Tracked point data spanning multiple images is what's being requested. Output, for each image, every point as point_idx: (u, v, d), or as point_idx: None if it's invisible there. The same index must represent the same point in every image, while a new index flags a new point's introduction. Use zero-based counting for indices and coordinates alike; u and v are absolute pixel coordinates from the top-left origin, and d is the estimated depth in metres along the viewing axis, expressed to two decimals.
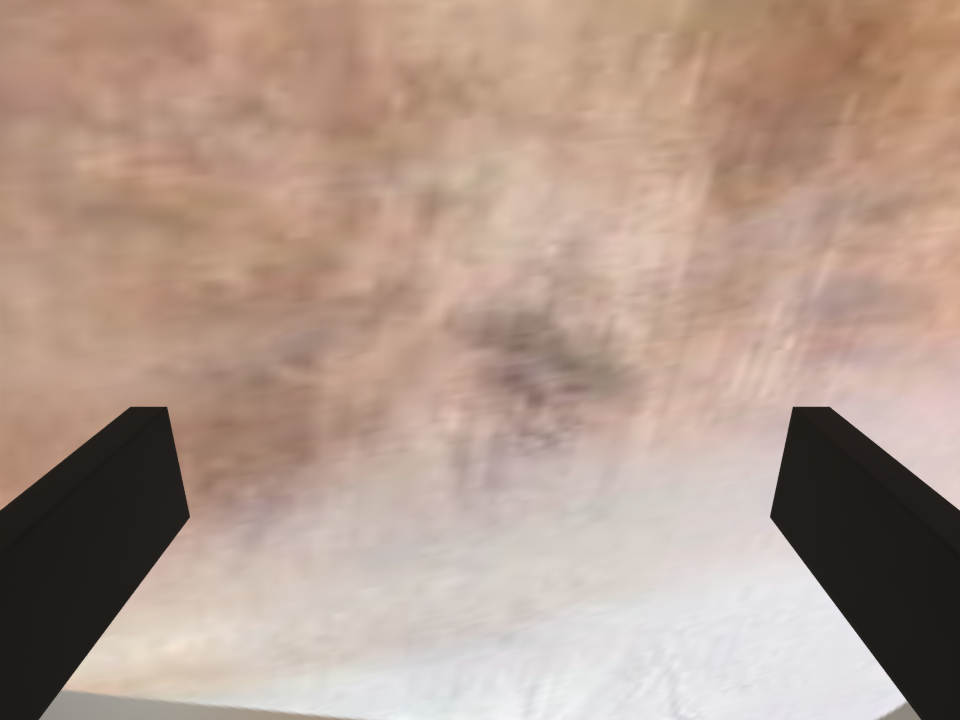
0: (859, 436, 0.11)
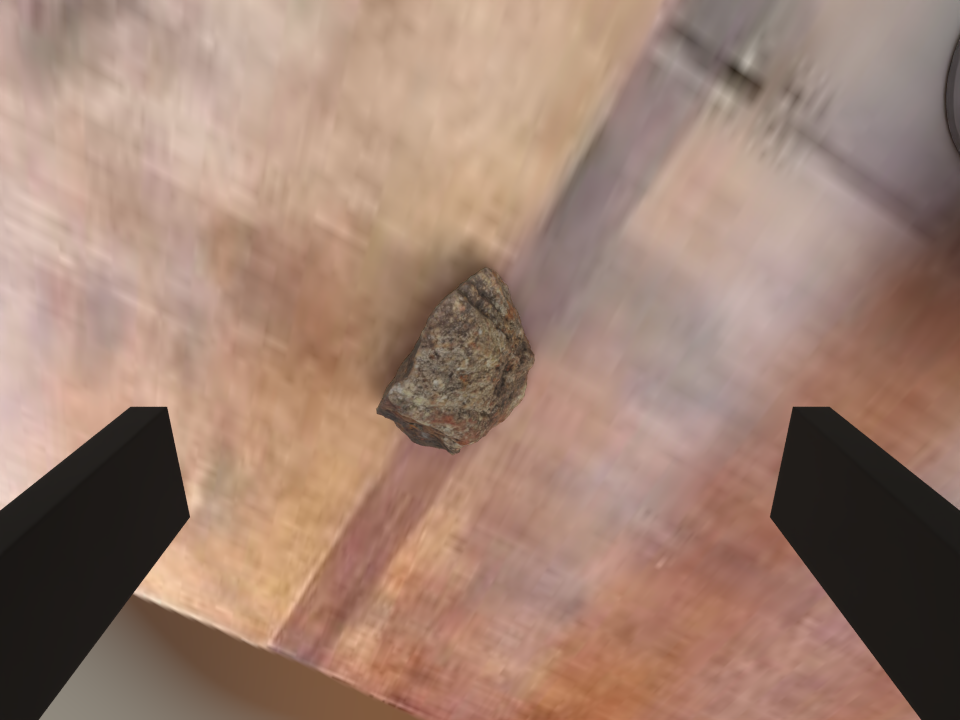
0: (859, 436, 0.11)
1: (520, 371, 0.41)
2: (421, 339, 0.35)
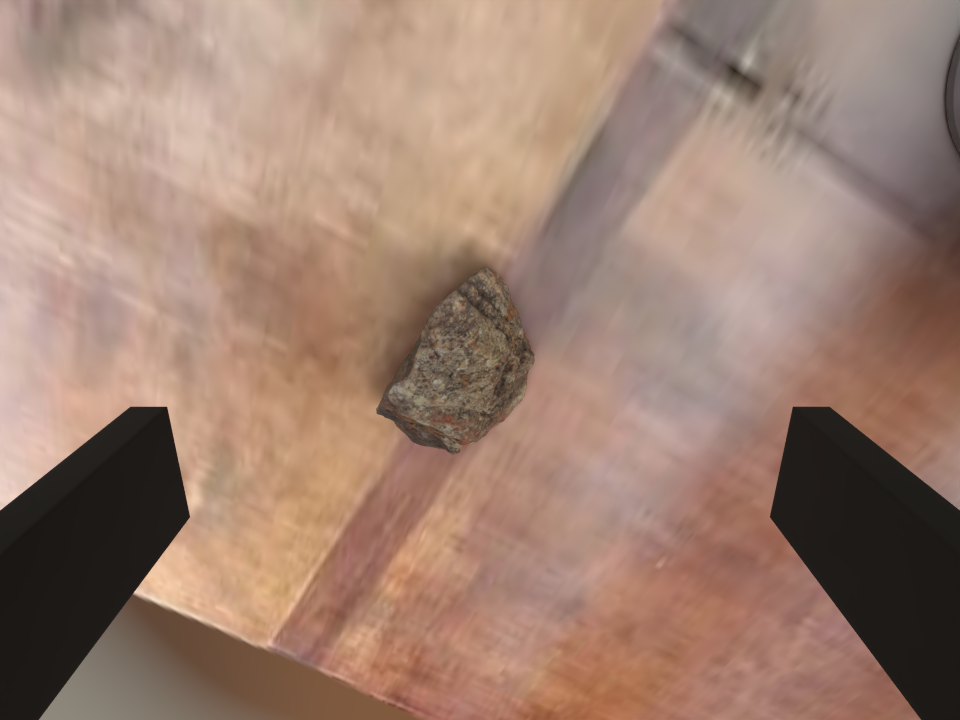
0: (859, 436, 0.11)
1: (520, 371, 0.41)
2: (421, 339, 0.35)
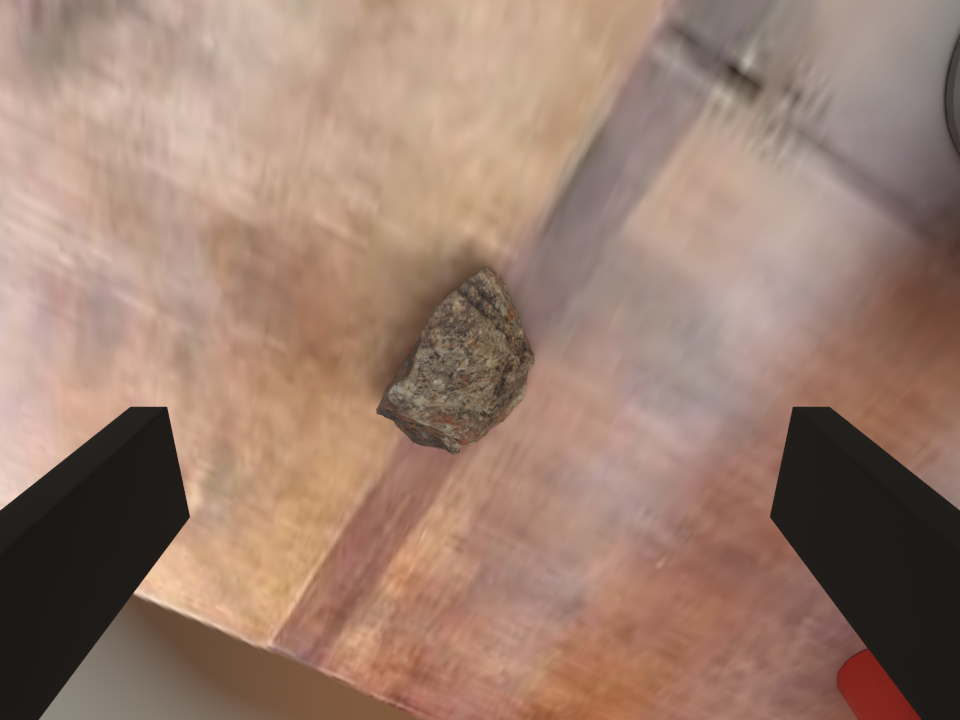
0: (859, 436, 0.11)
1: (520, 371, 0.41)
2: (421, 339, 0.35)
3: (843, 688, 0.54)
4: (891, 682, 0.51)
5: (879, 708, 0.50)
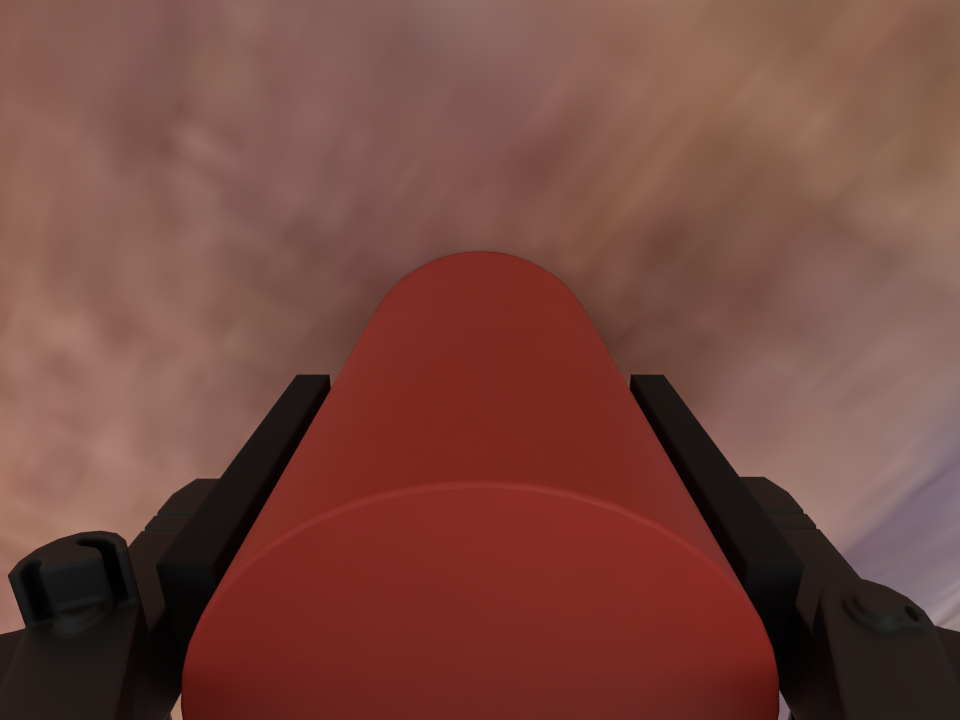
0: (674, 397, 0.13)
1: None
2: None
3: None
4: (411, 296, 0.14)
5: None
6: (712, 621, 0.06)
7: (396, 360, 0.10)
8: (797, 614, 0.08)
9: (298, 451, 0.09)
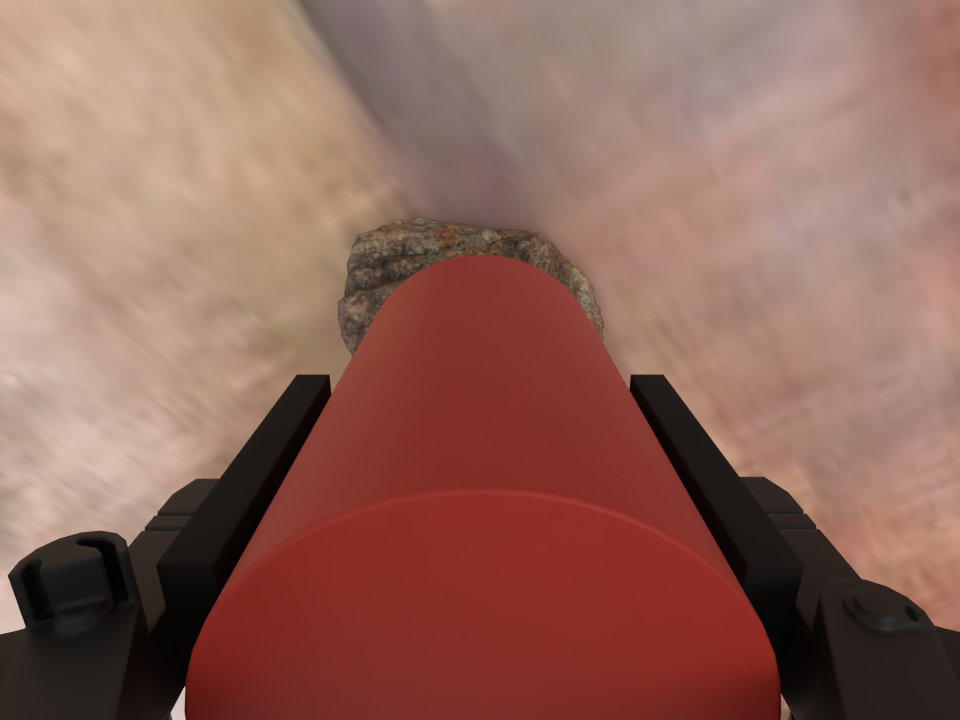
0: (674, 397, 0.13)
1: (538, 268, 0.26)
2: None
3: None
4: (412, 300, 0.14)
5: None
6: (713, 627, 0.06)
7: (398, 365, 0.10)
8: (797, 614, 0.08)
9: (300, 456, 0.09)
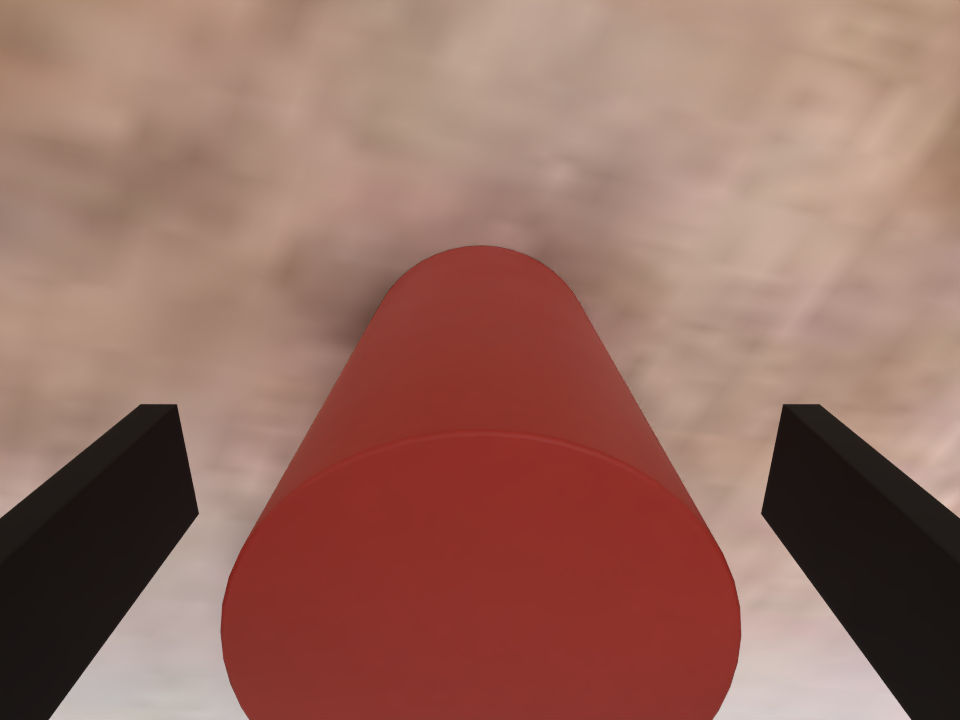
0: (847, 433, 0.11)
1: None
2: None
3: None
4: (416, 286, 0.15)
5: (349, 359, 0.14)
6: (680, 554, 0.07)
7: (404, 339, 0.11)
8: None
9: (318, 419, 0.10)
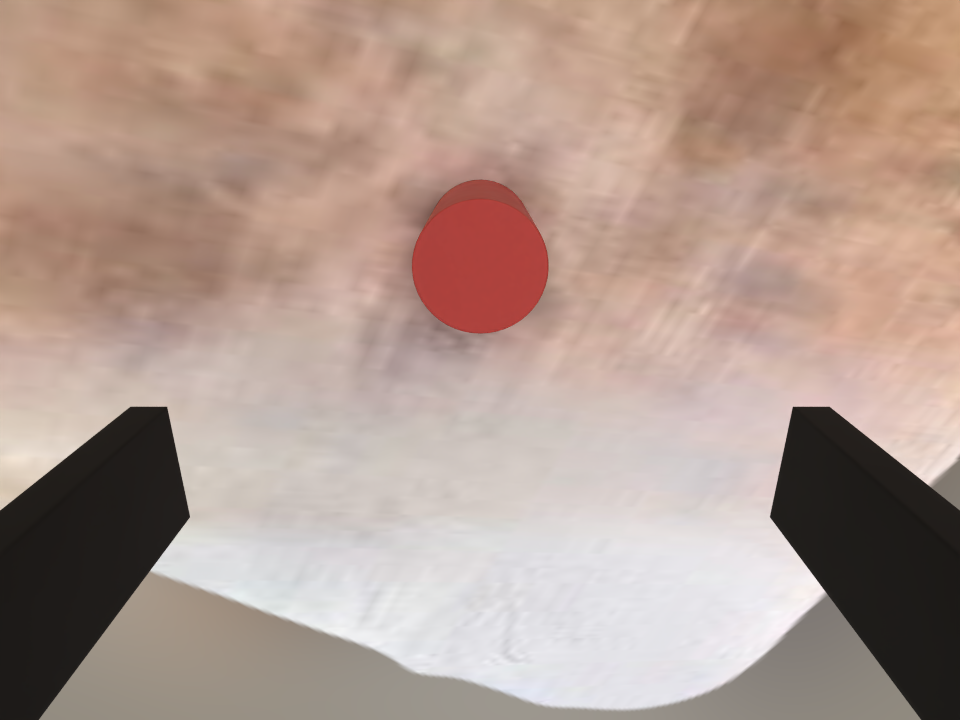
0: (859, 436, 0.11)
1: None
2: None
3: None
4: (455, 190, 0.37)
5: None
6: (529, 234, 0.30)
7: (456, 195, 0.33)
8: None
9: (430, 217, 0.33)
